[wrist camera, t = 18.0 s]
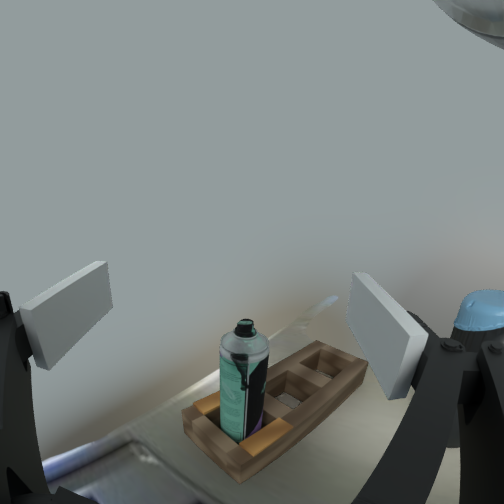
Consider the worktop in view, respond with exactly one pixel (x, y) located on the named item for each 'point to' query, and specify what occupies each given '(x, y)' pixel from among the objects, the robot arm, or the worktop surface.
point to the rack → (278, 409)
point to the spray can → (242, 380)
